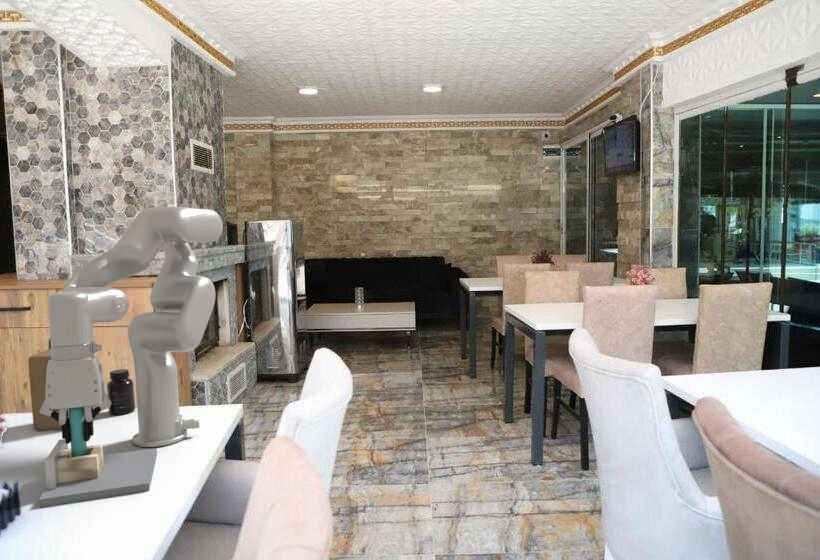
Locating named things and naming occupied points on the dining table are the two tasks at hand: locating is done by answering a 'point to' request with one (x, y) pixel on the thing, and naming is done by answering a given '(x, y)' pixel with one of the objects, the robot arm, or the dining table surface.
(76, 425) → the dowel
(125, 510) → the dining table surface
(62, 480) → the birch block
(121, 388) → the supplement bottle
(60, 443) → the backstop wall
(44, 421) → the wooden block
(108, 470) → the base board
